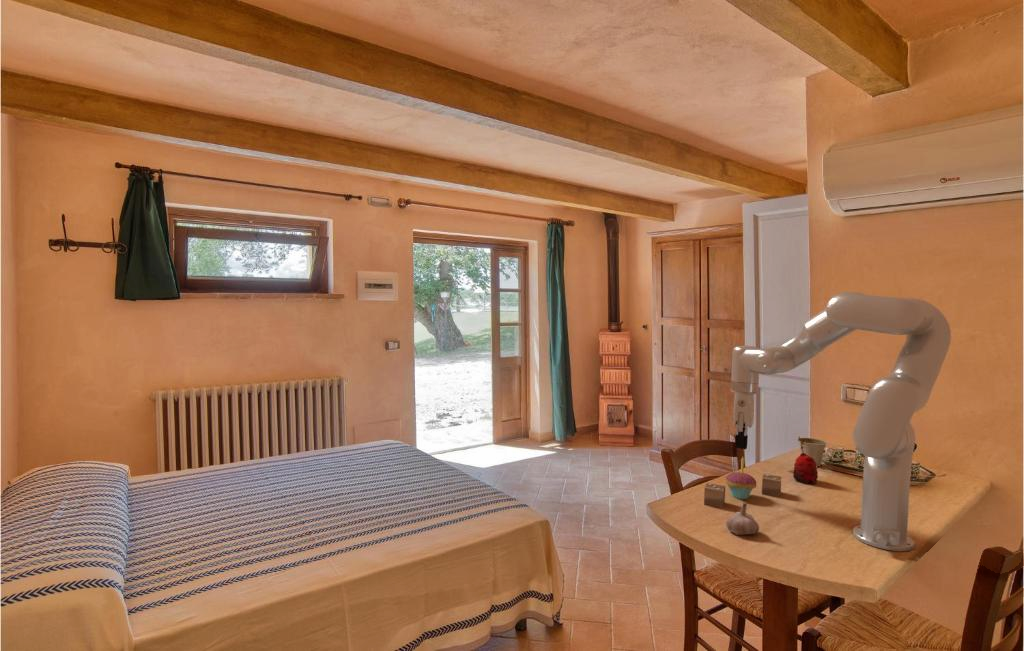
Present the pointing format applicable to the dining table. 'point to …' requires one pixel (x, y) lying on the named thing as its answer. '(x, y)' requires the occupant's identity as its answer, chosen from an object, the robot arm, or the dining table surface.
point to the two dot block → (771, 485)
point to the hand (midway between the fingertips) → (740, 447)
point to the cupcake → (740, 483)
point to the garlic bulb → (742, 523)
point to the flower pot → (813, 448)
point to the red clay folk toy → (805, 468)
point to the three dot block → (714, 495)
